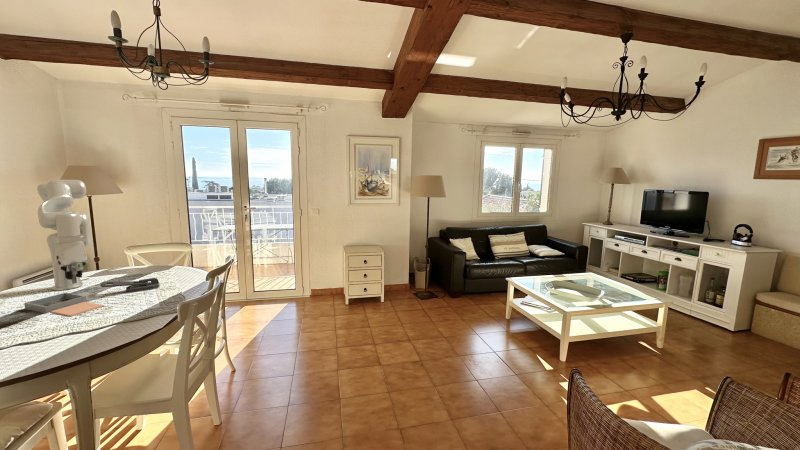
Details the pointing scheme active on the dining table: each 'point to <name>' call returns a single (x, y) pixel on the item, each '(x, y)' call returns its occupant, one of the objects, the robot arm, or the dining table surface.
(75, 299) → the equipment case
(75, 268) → the mechanical component
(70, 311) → the rubber mat
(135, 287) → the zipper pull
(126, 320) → the dining table surface
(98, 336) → the dining table surface
